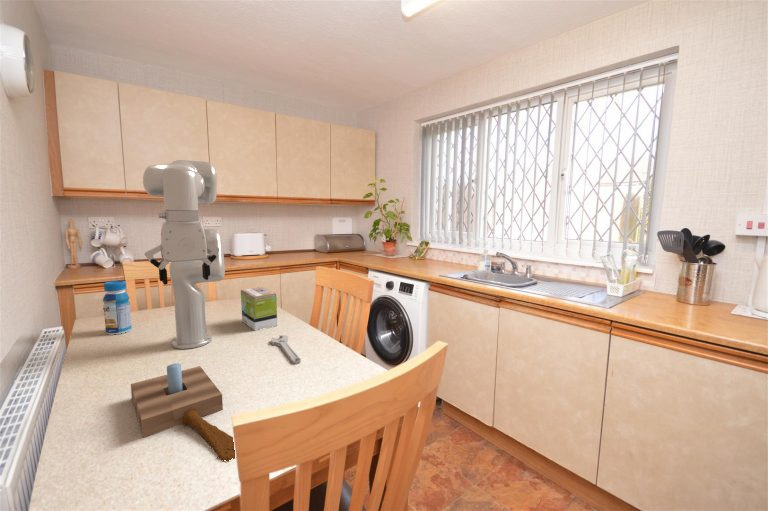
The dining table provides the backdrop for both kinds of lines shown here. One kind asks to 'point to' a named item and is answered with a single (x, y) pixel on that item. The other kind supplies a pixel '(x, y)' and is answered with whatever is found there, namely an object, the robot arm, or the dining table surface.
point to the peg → (174, 378)
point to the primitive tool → (211, 435)
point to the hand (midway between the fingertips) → (186, 281)
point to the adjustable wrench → (286, 348)
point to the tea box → (259, 308)
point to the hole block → (174, 400)
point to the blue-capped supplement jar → (116, 308)
